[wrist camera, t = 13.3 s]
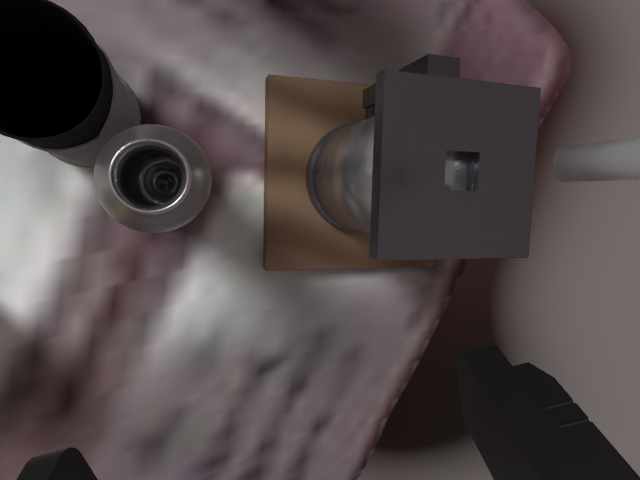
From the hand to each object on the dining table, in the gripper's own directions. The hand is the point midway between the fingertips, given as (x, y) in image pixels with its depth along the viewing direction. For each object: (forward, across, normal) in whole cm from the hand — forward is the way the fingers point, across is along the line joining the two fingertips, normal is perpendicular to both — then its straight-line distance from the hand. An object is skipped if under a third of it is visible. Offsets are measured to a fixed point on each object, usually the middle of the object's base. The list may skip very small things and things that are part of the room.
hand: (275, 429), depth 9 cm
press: (+35, -7, +5) cm, 37 cm away
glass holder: (+33, +18, -6) cm, 38 cm away
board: (+37, -7, +6) cm, 38 cm away
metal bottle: (+33, +10, +2) cm, 35 cm away
